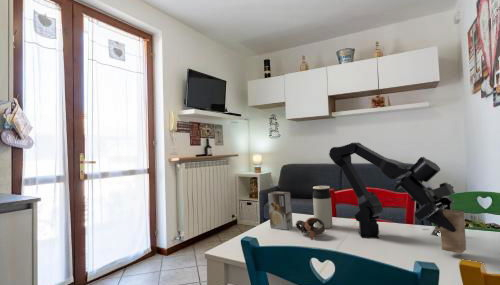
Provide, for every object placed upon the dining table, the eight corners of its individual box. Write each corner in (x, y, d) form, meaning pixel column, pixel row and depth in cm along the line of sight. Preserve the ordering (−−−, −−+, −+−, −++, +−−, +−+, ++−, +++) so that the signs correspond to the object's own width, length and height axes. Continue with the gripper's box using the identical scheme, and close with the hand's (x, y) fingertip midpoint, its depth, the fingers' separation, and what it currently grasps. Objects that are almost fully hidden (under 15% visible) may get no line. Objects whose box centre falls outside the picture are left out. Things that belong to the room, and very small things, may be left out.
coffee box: (293, 226, 129) (291, 191, 129) (287, 230, 123) (285, 194, 124) (276, 224, 134) (274, 191, 134) (269, 227, 129) (267, 193, 129)
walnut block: (441, 249, 88) (439, 211, 88) (447, 245, 91) (445, 209, 91) (460, 253, 84) (458, 214, 84) (466, 249, 87) (463, 211, 87)
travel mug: (334, 228, 122) (332, 187, 123) (316, 229, 123) (314, 188, 123) (329, 223, 130) (327, 185, 131) (312, 224, 130) (310, 186, 131)
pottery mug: (323, 232, 119) (327, 218, 115) (321, 249, 111) (325, 234, 107) (295, 225, 122) (298, 210, 118) (291, 240, 114) (294, 226, 110)
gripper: (423, 178, 86) (469, 220, 77) (445, 172, 97) (488, 208, 88) (398, 200, 92) (438, 242, 83) (422, 193, 103) (460, 228, 94)
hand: (457, 229), depth 87 cm, fingers closed on walnut block, 5 cm apart
